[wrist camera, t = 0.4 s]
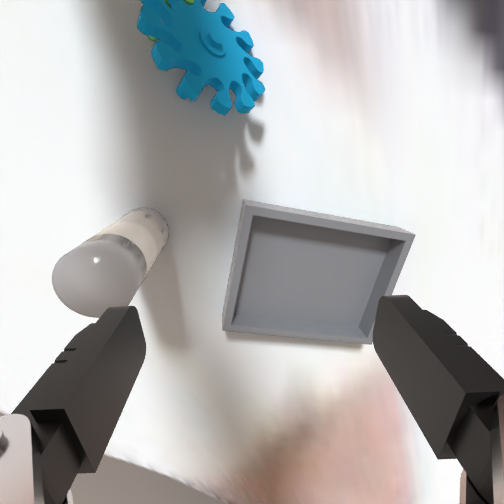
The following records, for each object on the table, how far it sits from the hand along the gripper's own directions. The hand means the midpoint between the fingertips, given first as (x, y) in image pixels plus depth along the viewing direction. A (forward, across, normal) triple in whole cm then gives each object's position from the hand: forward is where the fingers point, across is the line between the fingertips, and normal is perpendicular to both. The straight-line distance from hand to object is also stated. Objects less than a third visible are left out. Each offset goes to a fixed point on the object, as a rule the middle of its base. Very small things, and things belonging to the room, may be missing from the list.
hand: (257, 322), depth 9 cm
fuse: (+19, +11, +3) cm, 22 cm away
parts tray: (+20, -6, +9) cm, 23 cm away
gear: (+21, +3, -11) cm, 24 cm away
